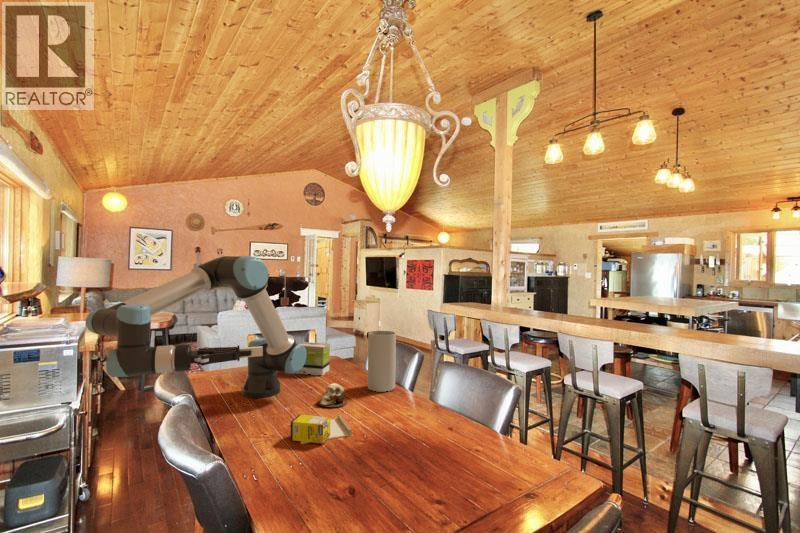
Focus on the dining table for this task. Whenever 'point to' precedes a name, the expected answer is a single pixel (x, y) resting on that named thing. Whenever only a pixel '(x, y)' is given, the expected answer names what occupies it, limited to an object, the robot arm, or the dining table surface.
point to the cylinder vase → (381, 360)
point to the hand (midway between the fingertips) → (262, 351)
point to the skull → (332, 396)
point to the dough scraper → (337, 429)
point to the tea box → (316, 358)
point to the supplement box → (310, 429)
